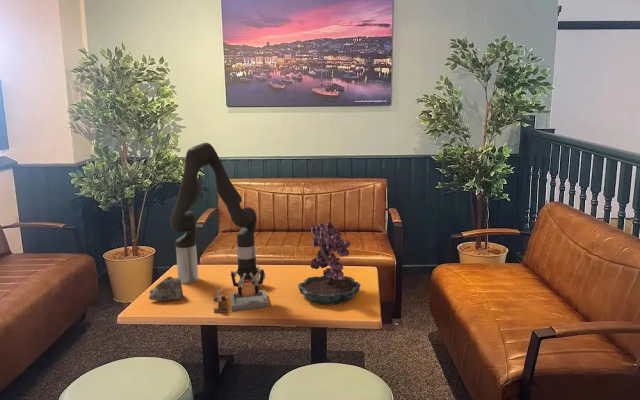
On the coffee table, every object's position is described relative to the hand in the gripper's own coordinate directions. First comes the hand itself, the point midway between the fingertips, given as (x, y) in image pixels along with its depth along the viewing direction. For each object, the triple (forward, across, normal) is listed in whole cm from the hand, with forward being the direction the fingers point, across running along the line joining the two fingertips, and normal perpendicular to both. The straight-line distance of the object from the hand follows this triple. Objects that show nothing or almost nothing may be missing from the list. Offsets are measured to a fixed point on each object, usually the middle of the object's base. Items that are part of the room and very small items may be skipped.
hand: (248, 294), depth 229 cm
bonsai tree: (+4, +35, +1) cm, 35 cm away
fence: (+4, -12, 0) cm, 13 cm away
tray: (+4, 0, 0) cm, 4 cm away
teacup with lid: (+4, +3, +20) cm, 21 cm away
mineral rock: (+4, -34, +14) cm, 37 cm away
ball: (-2, 0, 0) cm, 2 cm away
